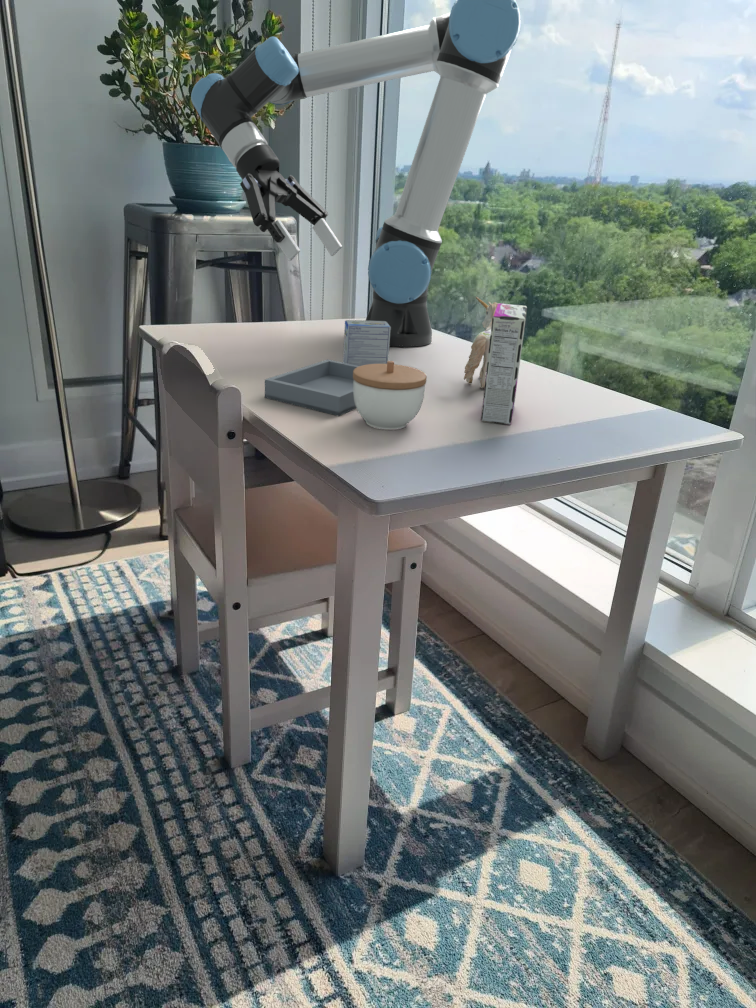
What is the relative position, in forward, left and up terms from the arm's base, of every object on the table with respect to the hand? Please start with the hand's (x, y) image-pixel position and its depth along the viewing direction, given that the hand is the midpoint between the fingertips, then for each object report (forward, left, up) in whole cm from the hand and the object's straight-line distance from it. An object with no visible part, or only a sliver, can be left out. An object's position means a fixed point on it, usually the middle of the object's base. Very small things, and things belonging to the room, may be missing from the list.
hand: (316, 253), depth 139 cm
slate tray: (+18, +16, -19) cm, 31 cm away
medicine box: (0, +11, -20) cm, 23 cm away
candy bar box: (+9, +41, -20) cm, 47 cm away
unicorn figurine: (-8, +29, -20) cm, 36 cm away
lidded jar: (+25, +30, -20) cm, 44 cm away
